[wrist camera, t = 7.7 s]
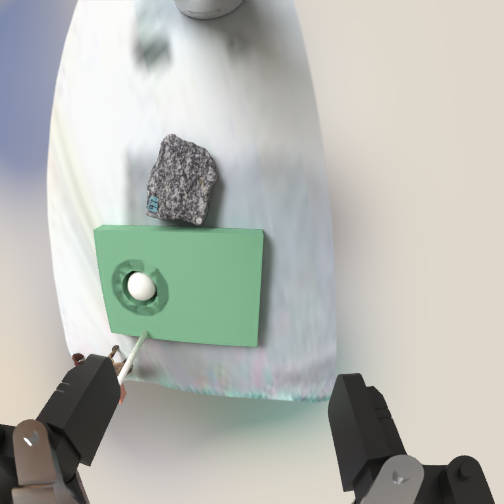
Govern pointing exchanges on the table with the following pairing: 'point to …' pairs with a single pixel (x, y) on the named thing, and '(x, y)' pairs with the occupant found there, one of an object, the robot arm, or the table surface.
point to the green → (183, 282)
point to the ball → (141, 286)
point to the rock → (181, 182)
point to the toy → (117, 366)
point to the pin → (129, 363)
